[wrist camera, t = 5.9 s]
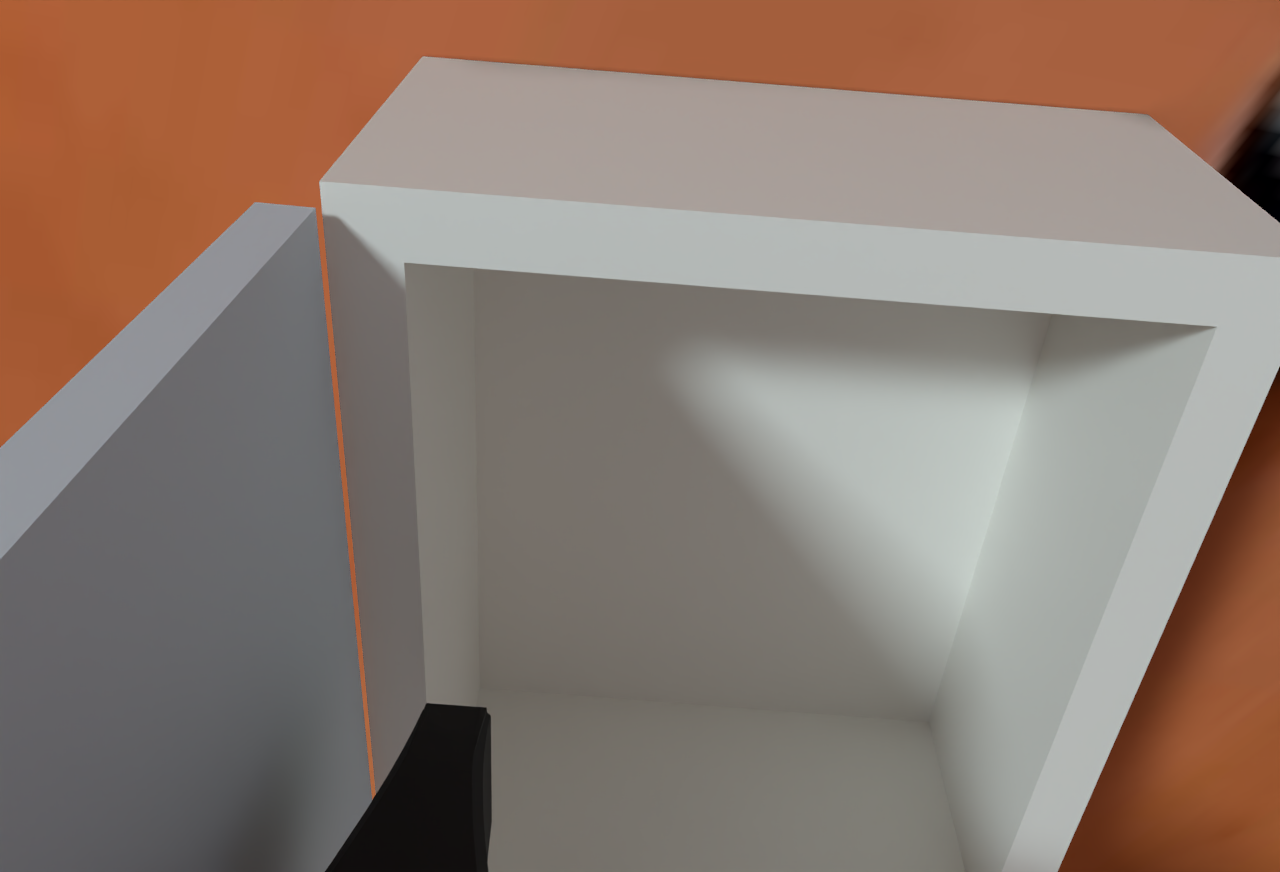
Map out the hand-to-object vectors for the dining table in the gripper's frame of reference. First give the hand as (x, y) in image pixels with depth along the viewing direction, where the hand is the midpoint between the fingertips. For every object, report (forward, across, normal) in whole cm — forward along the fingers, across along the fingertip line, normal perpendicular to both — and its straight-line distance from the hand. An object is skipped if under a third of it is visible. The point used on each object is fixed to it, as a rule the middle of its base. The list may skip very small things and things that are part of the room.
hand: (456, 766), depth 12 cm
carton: (+7, -3, 0) cm, 8 cm away
